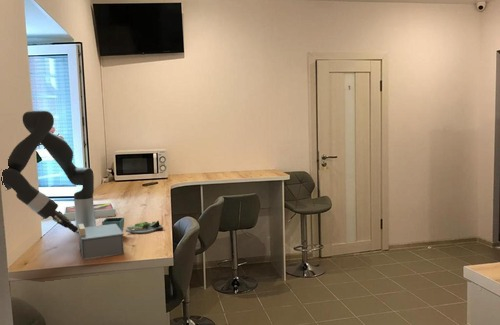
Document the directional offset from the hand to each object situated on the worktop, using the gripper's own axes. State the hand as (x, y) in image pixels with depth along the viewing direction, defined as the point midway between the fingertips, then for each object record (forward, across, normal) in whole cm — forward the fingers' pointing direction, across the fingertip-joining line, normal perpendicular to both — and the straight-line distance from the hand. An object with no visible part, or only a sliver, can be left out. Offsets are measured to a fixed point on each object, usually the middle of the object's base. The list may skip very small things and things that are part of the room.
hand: (76, 230), depth 175 cm
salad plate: (+32, +28, -17) cm, 46 cm away
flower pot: (+20, +20, -5) cm, 29 cm away
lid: (+8, 0, -5) cm, 10 cm away
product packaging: (+16, +82, 0) cm, 84 cm away
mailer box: (+14, 0, +1) cm, 14 cm away
